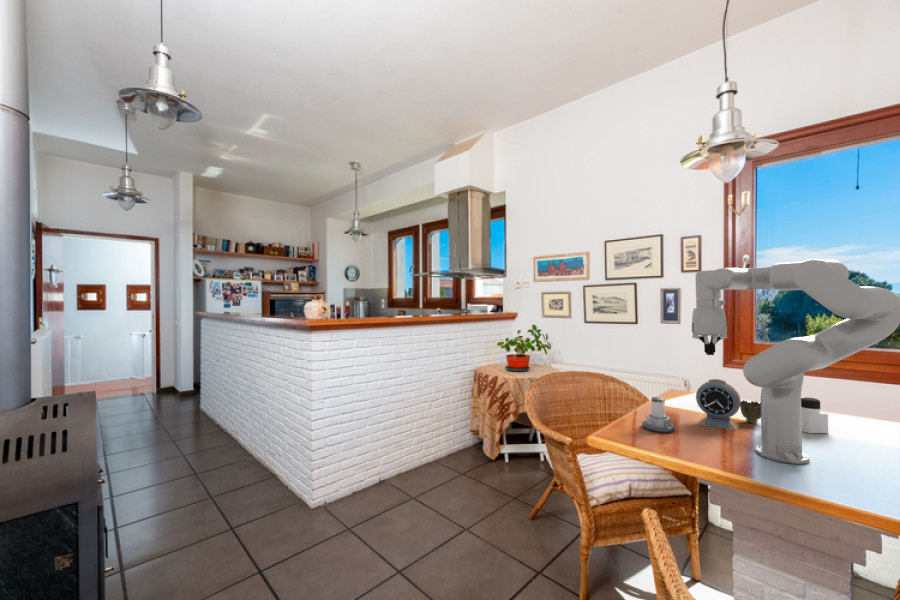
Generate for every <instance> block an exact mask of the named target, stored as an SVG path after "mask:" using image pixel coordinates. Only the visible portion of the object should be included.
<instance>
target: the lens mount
mask: <svg viewBox="0 0 900 600" xmlns="http://www.w3.org/2000/svg"><path fill="white" fill-rule="evenodd" d="M671 421H672V420H671V417H670V416H668V415H666V414H665V419H656V418H652V413H648V414H646V415H645V420H644V421H642V422H641V423H642V424H641V426H642V429H644V430H646V431H648V432H652V433H656V434H672V433H675V432H676V426H675V425H674V424H673V423H671Z"/></svg>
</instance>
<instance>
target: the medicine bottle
mask: <svg viewBox="0 0 900 600" xmlns="http://www.w3.org/2000/svg"><path fill="white" fill-rule="evenodd" d="M801 424H802V432H803V431H804V432H803V433H806V432H807V434H808V433H827V434H829V415H828V413H826V412H822V411H821V400H819V399H818V398H815V397H809V396H801Z"/></svg>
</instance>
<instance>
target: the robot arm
mask: <svg viewBox="0 0 900 600" xmlns="http://www.w3.org/2000/svg"><path fill="white" fill-rule="evenodd" d="M849 275H850V271H849V269H848V267H847V266H846V265H845V264H844V263H843V262H841V261H838V260H835V259H821V258H820V259H819V258H812V259H806V260H803V261H794V262H793V261H792V262H791V261H790V262H779V263H778V262H777V263H774V264H772V265H771V266H766V267H765V266H764V267H748V268H745V267H744V268H739V267H722V268H717V269H714V270H712V269H710V270H700V271H697V272H696V274H695V277H694V279H695V299H696V300H695V307H696V308H693V310H692V317H691V333H692V335H691V338H693V339H697V340H699V341H701V343H703V345H704V348H703V350H704V353H705V354H706V355H707V356H714V355H715V353H716V344H717V343H718V342H719V341H721V340H726V339H728V335H727V333H728V326H727V318H726V312H725V310H724V308H723V305H725V306H726V304H727V302H726V300H722V290H724V291H730V290H731V291H734V290H735V291H736V290H737V291H739V290H741V291H743V290H744V291H745V290H772V291H773V290H774V291H802V292H804V293H806V295H808V296H810V298H812V299H813V300H815V301H816V302H817V303H819V304H820V305H822V306H823V307H824V308H826V309H827V310H829V311H830V312H832V313H833V314H835V315H836V316H838V317H840V318H844V320H841V321H838V322H836V323H835V324H832V325H831V326H829V327H827V328H825V329H823V330H821V331H818V332H817V333H814V334H812V335H809V336H800V337H792V338H788V339H785V340H782V341H780V342H778V343H776V344H774V345H772V346H770V347H768V348H767V349H764V350H763V351H760V352H759V353H757V354H755V355H754V356H751V357H750V358H749V359H747V360H746V361H745V363H744V365H743V367H742V374H743V376H744V378H745V380H746V381H747V382H749V384H751V385H753V386H755V387H758V388H761V390H760V391H761V392H760V403H761V418H760V429H761V430H760V431H761V444H760V445H756V447H755V453H757V454H758V455H759V456H762V457H763V458H766V459H768V460H773V461H774V462H775V461H776V462H780V463H786V464H792V465H793V464H795V465H801V464H803V465H804V464H807V463H810V456H809V455H808V454H806V453H805V452H803V434H802V433H803V431H802V424H801V397H802V389H803V384H804V379H805V378H804V375H805V374H804V373H806V372H811V371H817V370H823V369H824V368H827V367H829V366H831V365H833V364H835V363H838V362H839V361H842V360H844V359H846V358H848V357H850V356H852V355H855V354H856V353H858V352H861V351H864V350H865V349H868V348H869V347H871V346H874V345H876V344H877V343H880V342H881V341H883V340H885V339H886V338H887V337H889V336H890V335H891V334H892V333H894V332H895V331H896V330H897V329H898V327H899V326H900V298H899V296H898V295H897V294H896V293H894V292H893V291H891V290H889V289H887V288H884V287H878V286H860V285H858V284H857V283H855V282H853V281H852V280H850V279H849ZM708 336H710V340H709V337H708Z"/></svg>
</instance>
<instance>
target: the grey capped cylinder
mask: <svg viewBox="0 0 900 600" xmlns="http://www.w3.org/2000/svg"><path fill="white" fill-rule="evenodd" d="M665 400H666V399H665V398H664V397H659V396H652V397H651V414H652V418H656V419H665V415H666V403H665V402H666V401H665Z"/></svg>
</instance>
